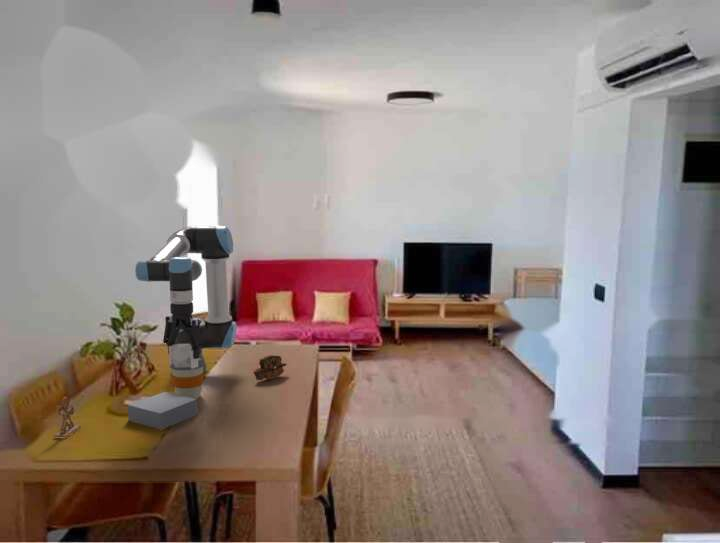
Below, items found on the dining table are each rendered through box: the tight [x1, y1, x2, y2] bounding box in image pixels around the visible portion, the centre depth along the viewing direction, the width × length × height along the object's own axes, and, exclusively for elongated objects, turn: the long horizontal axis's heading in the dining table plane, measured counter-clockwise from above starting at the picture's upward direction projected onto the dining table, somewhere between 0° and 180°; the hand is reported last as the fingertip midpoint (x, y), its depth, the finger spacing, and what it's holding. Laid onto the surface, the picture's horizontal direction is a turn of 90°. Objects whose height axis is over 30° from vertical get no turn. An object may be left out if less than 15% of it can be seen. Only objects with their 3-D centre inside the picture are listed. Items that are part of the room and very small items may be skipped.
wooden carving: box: [253, 354, 287, 381], centre depth 242 cm, size 16×5×10 cm, turn 143°
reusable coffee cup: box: [169, 355, 205, 399], centre depth 219 cm, size 13×13×15 cm
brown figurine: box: [53, 396, 81, 438], centre depth 184 cm, size 9×4×12 cm, turn 176°
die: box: [170, 344, 192, 368], centre depth 199 cm, size 8×9×10 cm
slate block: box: [127, 391, 198, 430], centre depth 198 cm, size 16×16×6 cm
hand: (183, 365), depth 200 cm, fingers closed on die, 9 cm apart
